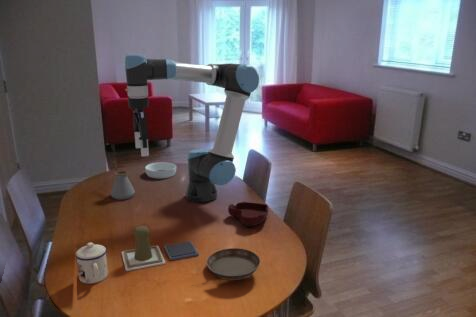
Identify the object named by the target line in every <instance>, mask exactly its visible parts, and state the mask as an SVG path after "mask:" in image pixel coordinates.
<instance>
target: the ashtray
mask: <svg viewBox="0 0 476 317" xmlns="http://www.w3.org/2000/svg"><path fill="white" fill-rule="evenodd" d="M227 210H228V214H229V215H230V216H233V217H232V218H234V217H237V218H236V219H239V220H240V221H241V223H242V224H243V225H245V226H246V227H247V228H253V227H254V226H257V225H259V224H261V223H263V222H264V221H265V220H266V218H267V217H268V214H269V205H268V204H265V203H260V202H259V203H256V202H249V201H248V202H247V201H241V202H237V203H236V204H235V205H234V204H233V203H231V204H229V205H228V209H227Z"/></svg>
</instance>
